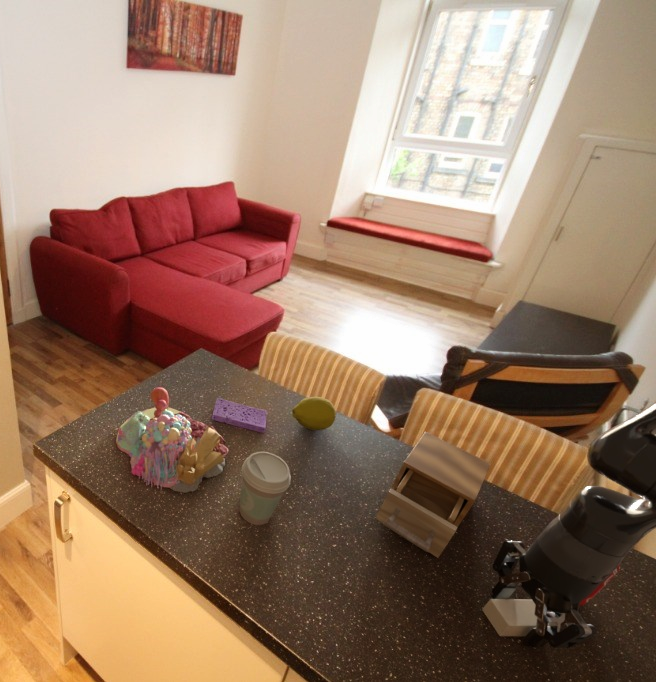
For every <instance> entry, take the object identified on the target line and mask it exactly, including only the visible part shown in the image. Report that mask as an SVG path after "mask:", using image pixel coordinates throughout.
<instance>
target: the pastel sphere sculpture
mask: <svg viewBox="0 0 656 682" xmlns="http://www.w3.org/2000/svg"><path fill="white" fill-rule="evenodd" d="M150 399H151V402H152V403H153V404H154V407H152V408H146V409H144V410H137V411H136V412H134V413H133V414H132V415H131V416H130V417H129V418H127V419H125V422H123V423H122V424H121V425H120V426H119V427H118V431H117V435H116V439H115V444H116V445H117V448H118V449H119V450H120V451H121V452H123V453H125V454H126V455H128V456H129V458H130V460H129V461H130V465H131V466H130V467H131V470H130V471H131V474H132V475H134V476H138V480H139V481H140V480H143V483H145V484H146V485H145V486H148V485H150V484H151V485H150V486H151V488H153V487H155V486H156V489H159V488H160V491H162V490H163V488H169V489H171V490H172V491H174V492H178V493H184V494H185V493H189V492H195V491H196V490H198V489H199V485H200V484H202V482H203V478H208V479H209V478H211V477H217V476H218V475H220V474H221V473H223V471H224V469H223V468H224V467H225V466H226V457H227V455H228V454H229V448H228V447H227V446H225V445H224V444H226V443H227V441H226V440H225V439H224V438H223V436H222V435H220V433H219V431H217V429H216V428H215V427H214V425H206V424H205V423H203V422H202V421H197V420H196V419H193V418H191V416H190V415H189V414H187V413H186V412H183V411H180V410H177V409H175V408H173V407H169V405H170V402H169V400H170V398H169V393H168V391H167V390H166V389H165V388H164V387H155V388H154V389H152V391H151V393H150ZM159 486H160V487H159Z"/></svg>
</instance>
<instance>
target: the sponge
mask: <svg viewBox="0 0 656 682" xmlns="http://www.w3.org/2000/svg"><path fill="white" fill-rule="evenodd" d="M211 420H212V421H215V422H216V421H217V422H219V423H224V424H227V425H230V426H234V427H237V428H242V429H246V430H250V431H254V432H258V433H262V434H265V432H266V425H267V410H265V409H262V408H257V407H252V406H248V405H246V404H241V403H236V402H234V401H230V400H226V399H224V398H219V397H217V398H216V401H215V405H214V409H213V412H212V418H211Z"/></svg>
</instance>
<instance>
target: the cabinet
mask: <svg viewBox="0 0 656 682" xmlns="http://www.w3.org/2000/svg"><path fill="white" fill-rule="evenodd" d="M491 465H492V463H491V462H489V461H487V460H485V459H483V458H481V457H479V456H477V455H475V454H473V453H471V452H469V451H467V450H464V449H463V448H461V447H459V446H457V445H455V444H453V443H450V442H448V441H446V440H444V439H442V438H440V437H438V436H436V435H434V434H432V433H429V432H428V431H424V433H423V434H422V436H421V437H420V438H419V440H418V442H417V443H416V444H415V446H414V447H413V449H412V450H411V451H410V453H409V454H408V455H407V456H406V459H404V461H403V463H402V465H401V467H400V469H399V470H398V473H397V475H396V477H395V479H394V480H393V483H392V485H391V486H390V489H393V490H395V491H396V489H397V487H398V486H399V484H400V483H401V481H402V480H403V478H404V477H405V475H406V474H407V472H408V471H409V469H411V470H413V471H415V472H417V473H418V474H420V475H422V476H424V477H426V478H428V479H430V480H431V481H433V482H435V483H437V484H439V485H441V486H442V487H444V488H446V489H448V490H450V491H452V492H454V493H455V494H457V495H459V496H461V497H463V498H465V500H464V502H463V504H462V506H461V508H460V510H459V513H458V515H457V517H456V519H455V521H454V523H453V525H455V526H457V527H459V526H460V525H461V523H462V521H463V520H464V518H465V517H466V515H467V514H468V512H469V511H470V509H471V507H473V505H474V503H475V502H476V500H477V498H478V494H479V492H480V490H481V489H482V486H483V484H484V481H485V479H486V477H487V474H488V472H489V470H490V468H491Z"/></svg>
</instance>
